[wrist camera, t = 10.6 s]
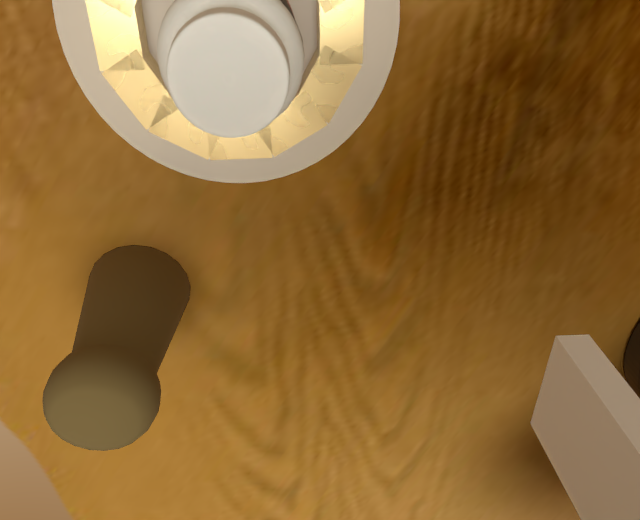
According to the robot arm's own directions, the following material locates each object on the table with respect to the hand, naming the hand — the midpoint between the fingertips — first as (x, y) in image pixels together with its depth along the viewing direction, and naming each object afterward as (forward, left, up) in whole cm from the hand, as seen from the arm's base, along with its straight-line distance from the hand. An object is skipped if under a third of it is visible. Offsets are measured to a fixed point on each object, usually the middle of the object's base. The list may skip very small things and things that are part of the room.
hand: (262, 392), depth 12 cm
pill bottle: (+1, -5, -19) cm, 20 cm away
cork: (+8, +10, -20) cm, 24 cm away
